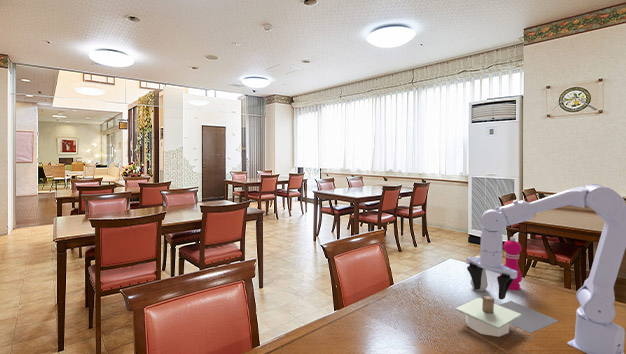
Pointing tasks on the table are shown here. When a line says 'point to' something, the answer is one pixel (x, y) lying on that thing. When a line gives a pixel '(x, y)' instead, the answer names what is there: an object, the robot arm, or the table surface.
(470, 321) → the bowl
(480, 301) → the cover
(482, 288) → the salt shaker
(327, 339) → the table surface
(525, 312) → the mat
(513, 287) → the pepper mill
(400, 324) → the table surface
